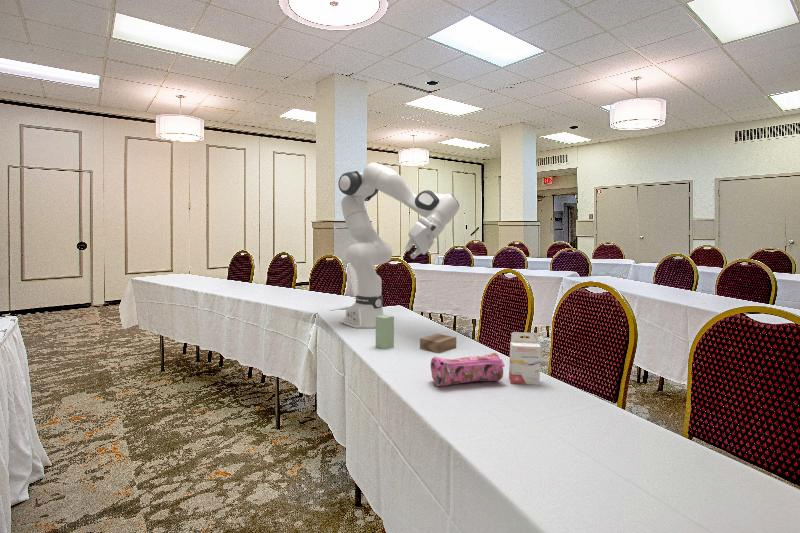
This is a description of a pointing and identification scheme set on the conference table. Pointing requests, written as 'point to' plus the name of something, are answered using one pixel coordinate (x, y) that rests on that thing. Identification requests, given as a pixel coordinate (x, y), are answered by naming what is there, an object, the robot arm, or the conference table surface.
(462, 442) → the conference table surface
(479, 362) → the pencil case
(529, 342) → the ink cartridge box
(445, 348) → the walnut block
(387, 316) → the sage pillar block
